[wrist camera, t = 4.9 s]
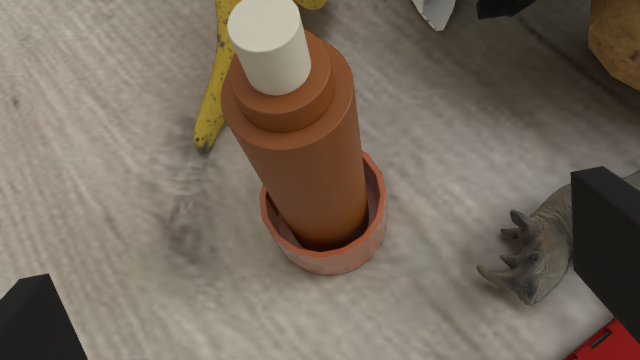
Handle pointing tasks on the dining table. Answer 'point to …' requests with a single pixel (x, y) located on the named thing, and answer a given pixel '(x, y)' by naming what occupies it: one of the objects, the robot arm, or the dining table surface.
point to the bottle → (297, 122)
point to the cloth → (435, 12)
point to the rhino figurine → (541, 247)
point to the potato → (617, 38)
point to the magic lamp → (223, 76)
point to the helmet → (501, 8)
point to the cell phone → (608, 345)
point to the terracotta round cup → (337, 258)
